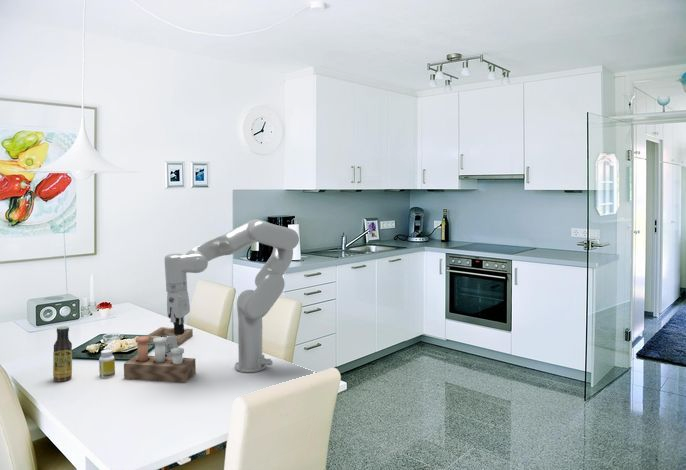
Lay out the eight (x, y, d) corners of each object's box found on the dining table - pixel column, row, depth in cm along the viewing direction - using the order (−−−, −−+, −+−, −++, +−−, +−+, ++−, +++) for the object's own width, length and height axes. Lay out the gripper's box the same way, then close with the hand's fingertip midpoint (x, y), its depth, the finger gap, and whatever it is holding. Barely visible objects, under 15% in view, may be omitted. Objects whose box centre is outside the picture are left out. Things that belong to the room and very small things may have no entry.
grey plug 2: (186, 373, 202) (186, 348, 201) (181, 378, 197) (180, 352, 196) (174, 372, 203) (174, 347, 202) (169, 377, 198) (168, 351, 197)
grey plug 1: (169, 363, 203) (168, 337, 202) (163, 367, 198) (162, 341, 197) (157, 362, 203) (156, 336, 202) (151, 366, 198) (150, 340, 197)
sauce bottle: (53, 383, 192) (50, 330, 190) (53, 377, 198) (51, 326, 196) (73, 380, 195) (71, 328, 193) (73, 375, 201) (71, 324, 199)
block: (195, 373, 204) (195, 358, 204) (184, 383, 195) (184, 367, 194) (137, 369, 207) (137, 354, 207) (124, 379, 198) (123, 363, 197)
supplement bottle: (118, 374, 202) (117, 349, 201) (107, 379, 197) (106, 354, 196) (107, 372, 204) (106, 348, 203) (96, 377, 199) (95, 352, 198)
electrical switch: (160, 362, 215) (158, 340, 215) (153, 361, 219) (151, 339, 218) (179, 357, 223) (178, 335, 222) (172, 355, 226) (171, 334, 226)
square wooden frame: (192, 336, 252) (192, 328, 252) (178, 346, 237) (178, 338, 236) (161, 334, 254) (161, 327, 254) (144, 344, 239) (144, 336, 238)
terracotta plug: (152, 361, 203) (151, 336, 202) (145, 366, 199) (145, 340, 198) (140, 361, 204) (139, 335, 203) (133, 365, 199) (133, 339, 198)
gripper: (177, 291, 189) (180, 340, 191) (194, 282, 203) (196, 328, 206) (157, 291, 190) (160, 340, 192) (175, 282, 204) (178, 328, 207)
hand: (179, 333), depth 199 cm, fingers closed
